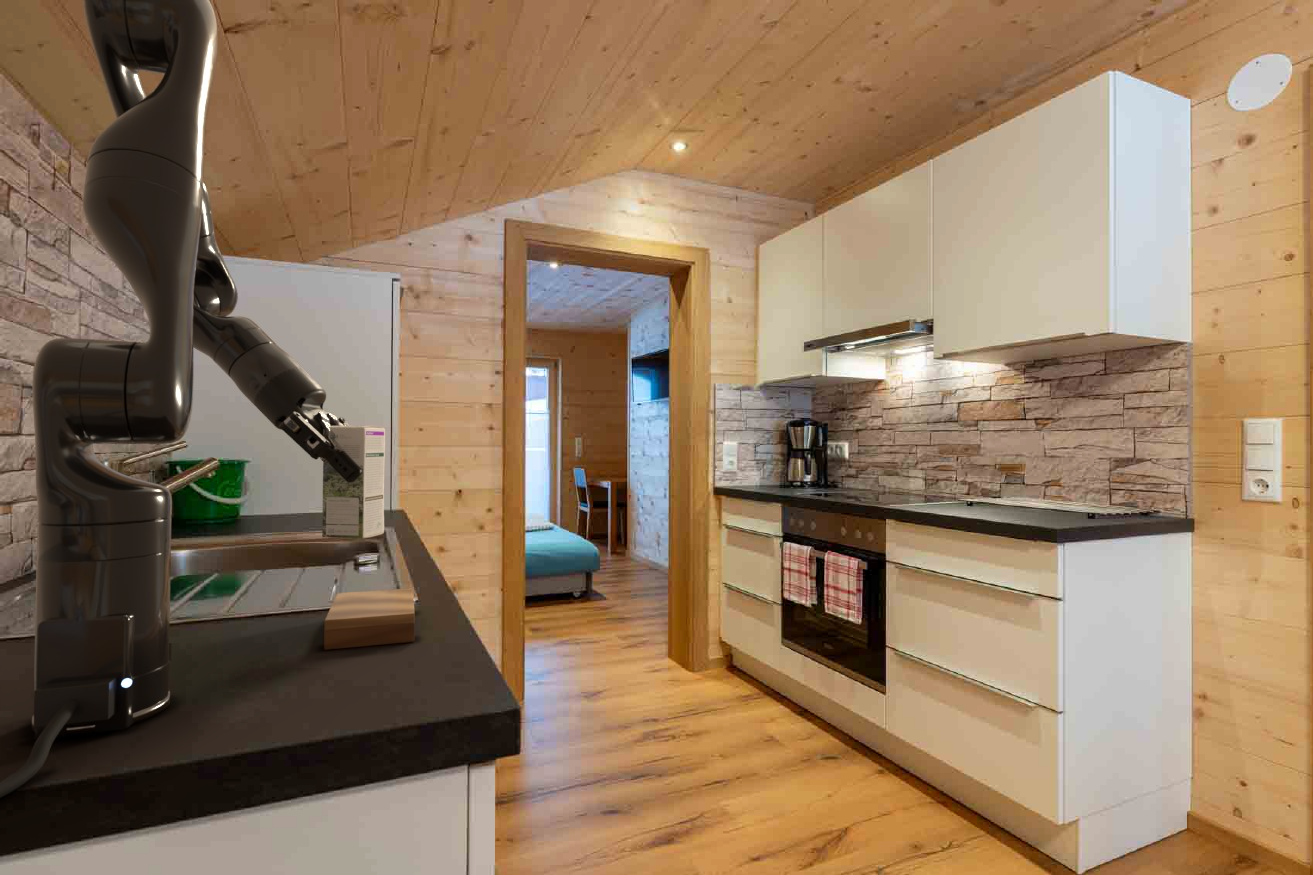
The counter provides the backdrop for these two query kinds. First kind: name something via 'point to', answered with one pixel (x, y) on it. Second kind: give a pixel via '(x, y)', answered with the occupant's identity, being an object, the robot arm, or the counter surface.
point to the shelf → (370, 619)
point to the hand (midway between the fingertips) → (367, 476)
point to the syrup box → (356, 485)
